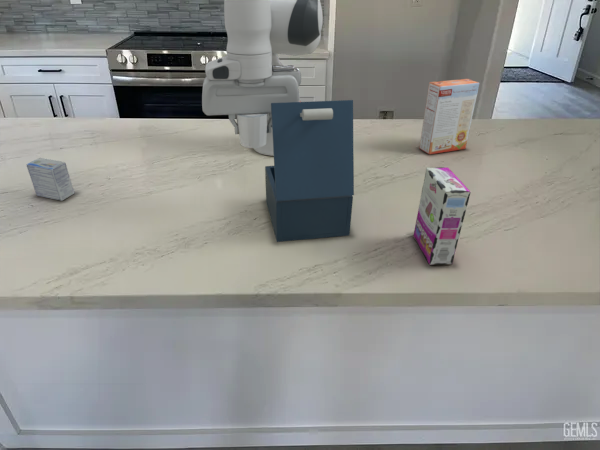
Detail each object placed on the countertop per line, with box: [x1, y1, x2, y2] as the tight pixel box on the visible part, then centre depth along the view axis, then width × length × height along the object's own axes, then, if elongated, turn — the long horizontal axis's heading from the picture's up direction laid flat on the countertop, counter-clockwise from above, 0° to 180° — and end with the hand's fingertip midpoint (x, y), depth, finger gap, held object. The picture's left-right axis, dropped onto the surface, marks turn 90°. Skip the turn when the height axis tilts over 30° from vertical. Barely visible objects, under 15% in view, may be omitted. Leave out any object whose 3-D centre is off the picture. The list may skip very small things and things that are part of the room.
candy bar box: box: [412, 166, 472, 266], centre depth 87 cm, size 11×5×16 cm, turn 5°
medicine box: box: [26, 157, 75, 202], centre depth 107 cm, size 8×4×9 cm, turn 71°
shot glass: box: [235, 113, 268, 149], centre depth 94 cm, size 7×7×7 cm
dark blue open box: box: [264, 165, 354, 243], centre depth 100 cm, size 18×16×10 cm
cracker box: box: [419, 78, 480, 155], centre depth 134 cm, size 14×6×21 cm, turn 111°
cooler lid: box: [271, 99, 355, 201], centre depth 85 cm, size 19×16×5 cm
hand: (252, 132), depth 95 cm, fingers closed on shot glass, 5 cm apart
